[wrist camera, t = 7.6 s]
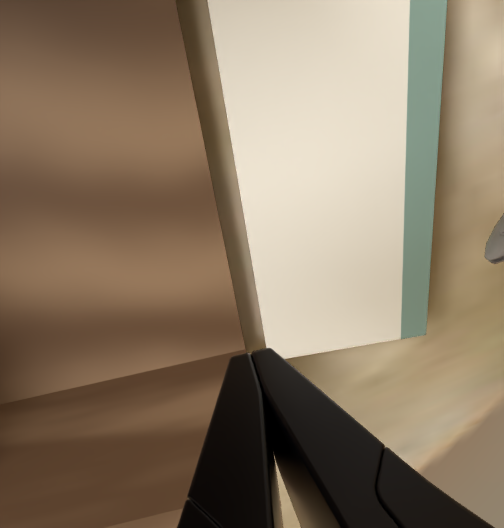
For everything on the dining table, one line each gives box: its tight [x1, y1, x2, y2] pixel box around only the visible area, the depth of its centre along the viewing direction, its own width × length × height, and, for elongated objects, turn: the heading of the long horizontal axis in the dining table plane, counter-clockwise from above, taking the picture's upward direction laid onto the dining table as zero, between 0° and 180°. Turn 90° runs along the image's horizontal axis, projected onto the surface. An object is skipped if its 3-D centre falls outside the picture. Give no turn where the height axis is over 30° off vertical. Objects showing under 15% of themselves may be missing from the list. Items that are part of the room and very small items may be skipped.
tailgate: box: [207, 0, 447, 359], centre depth 17 cm, size 19×1×8 cm
